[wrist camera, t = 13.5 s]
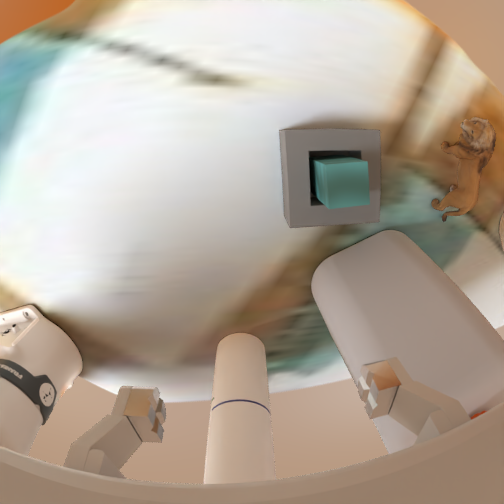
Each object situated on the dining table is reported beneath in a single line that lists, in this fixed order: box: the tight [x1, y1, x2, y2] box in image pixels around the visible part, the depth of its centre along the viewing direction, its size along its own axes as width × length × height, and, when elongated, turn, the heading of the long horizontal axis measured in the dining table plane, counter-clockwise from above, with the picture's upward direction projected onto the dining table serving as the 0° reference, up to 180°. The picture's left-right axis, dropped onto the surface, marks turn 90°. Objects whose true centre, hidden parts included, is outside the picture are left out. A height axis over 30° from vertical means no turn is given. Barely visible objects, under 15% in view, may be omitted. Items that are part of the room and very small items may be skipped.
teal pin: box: [309, 155, 370, 209], centre depth 29 cm, size 4×4×8 cm
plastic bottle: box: [311, 230, 504, 454], centre depth 27 cm, size 15×15×28 cm
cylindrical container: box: [204, 333, 276, 484], centre depth 32 cm, size 7×7×25 cm
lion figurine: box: [432, 117, 496, 222], centre depth 29 cm, size 15×5×9 cm, turn 2°
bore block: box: [279, 129, 381, 228], centre depth 31 cm, size 10×10×5 cm
